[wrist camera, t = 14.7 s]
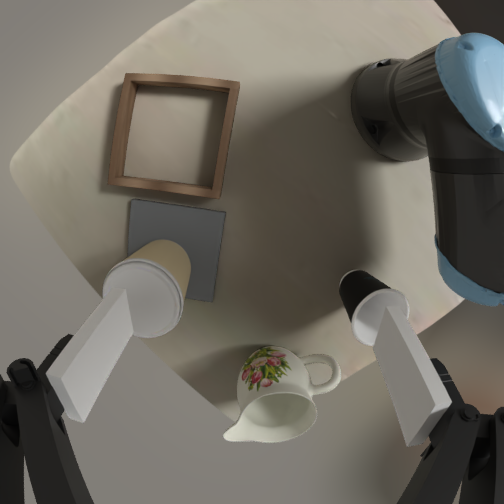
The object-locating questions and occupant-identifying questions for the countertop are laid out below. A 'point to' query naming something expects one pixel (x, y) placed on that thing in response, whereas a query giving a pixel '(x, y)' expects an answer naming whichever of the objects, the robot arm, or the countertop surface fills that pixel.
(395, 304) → the dixie cup
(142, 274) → the coffee cup
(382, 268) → the countertop surface
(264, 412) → the pitcher
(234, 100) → the cup holder
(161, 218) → the rubber mat
